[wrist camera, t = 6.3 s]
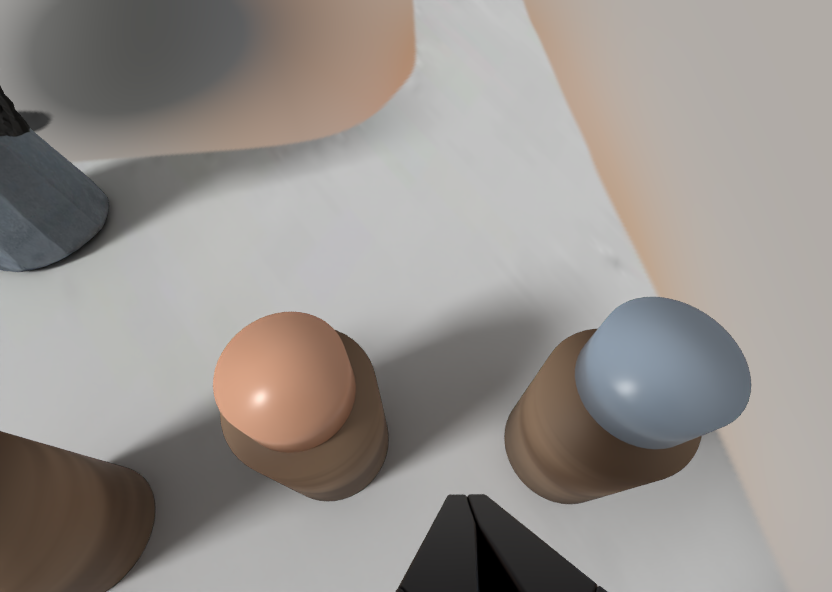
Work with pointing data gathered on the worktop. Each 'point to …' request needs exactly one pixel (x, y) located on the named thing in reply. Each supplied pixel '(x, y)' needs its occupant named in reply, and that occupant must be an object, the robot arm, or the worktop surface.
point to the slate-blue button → (661, 374)
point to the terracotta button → (285, 382)
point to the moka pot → (41, 198)
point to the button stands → (293, 476)
